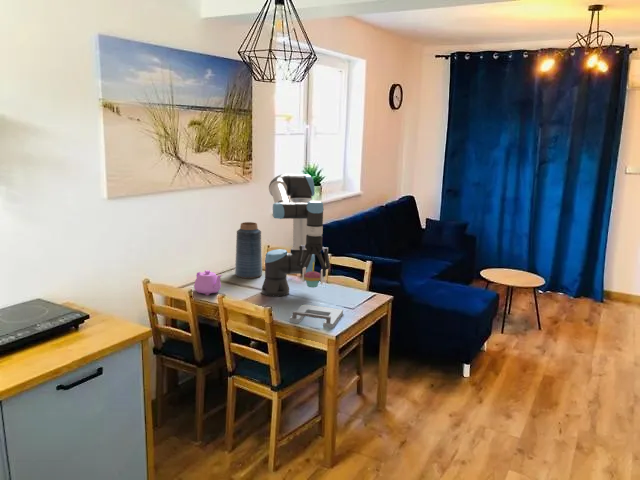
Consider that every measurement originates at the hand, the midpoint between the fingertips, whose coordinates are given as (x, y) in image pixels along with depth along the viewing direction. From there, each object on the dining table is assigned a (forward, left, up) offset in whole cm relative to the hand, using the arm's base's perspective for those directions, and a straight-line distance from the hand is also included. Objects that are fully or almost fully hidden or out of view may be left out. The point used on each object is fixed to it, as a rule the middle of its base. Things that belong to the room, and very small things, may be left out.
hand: (312, 281), depth 247 cm
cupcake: (0, 0, -2) cm, 2 cm away
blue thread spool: (-57, +55, -18) cm, 81 cm away
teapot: (-63, +16, -18) cm, 67 cm away
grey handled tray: (+2, +2, -18) cm, 18 cm away
